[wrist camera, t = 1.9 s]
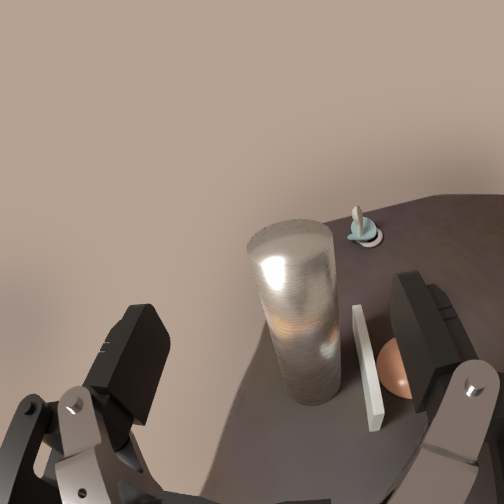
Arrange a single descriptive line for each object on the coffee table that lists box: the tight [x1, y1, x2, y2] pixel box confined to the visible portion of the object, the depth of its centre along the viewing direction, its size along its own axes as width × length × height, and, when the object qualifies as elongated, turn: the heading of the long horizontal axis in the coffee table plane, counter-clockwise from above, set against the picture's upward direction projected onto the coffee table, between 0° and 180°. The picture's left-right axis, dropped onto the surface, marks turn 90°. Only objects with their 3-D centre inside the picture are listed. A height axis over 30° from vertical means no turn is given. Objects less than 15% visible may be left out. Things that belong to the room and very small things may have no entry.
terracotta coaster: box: [376, 337, 412, 399], centre depth 28 cm, size 9×9×1 cm
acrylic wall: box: [352, 305, 385, 432], centre depth 28 cm, size 14×1×4 cm, turn 175°
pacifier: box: [347, 206, 383, 247], centre depth 49 cm, size 7×6×6 cm
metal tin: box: [247, 219, 341, 406], centre depth 26 cm, size 6×6×18 cm
